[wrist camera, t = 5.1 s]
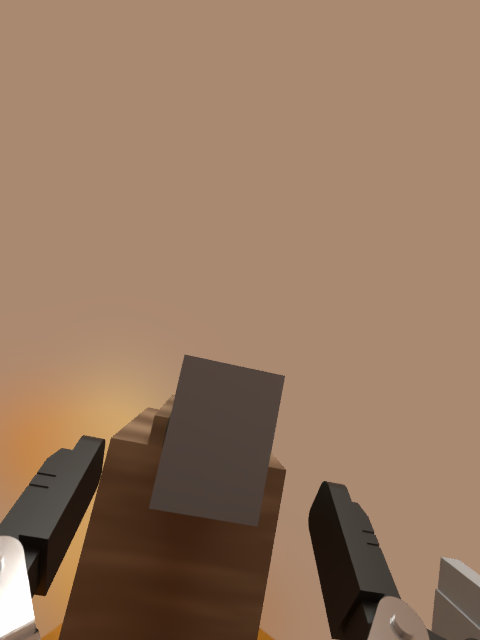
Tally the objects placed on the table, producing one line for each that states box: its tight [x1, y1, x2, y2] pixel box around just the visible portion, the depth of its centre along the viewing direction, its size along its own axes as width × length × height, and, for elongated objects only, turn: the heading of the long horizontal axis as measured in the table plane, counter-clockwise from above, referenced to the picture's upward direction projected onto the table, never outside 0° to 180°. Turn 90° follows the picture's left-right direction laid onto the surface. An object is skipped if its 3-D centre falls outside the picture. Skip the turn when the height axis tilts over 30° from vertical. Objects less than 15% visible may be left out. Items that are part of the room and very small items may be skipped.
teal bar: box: [149, 355, 285, 527], centre depth 23 cm, size 24×4×5 cm, turn 7°
